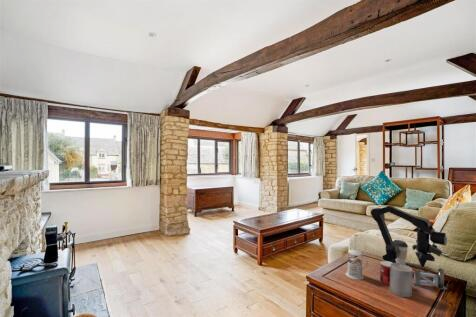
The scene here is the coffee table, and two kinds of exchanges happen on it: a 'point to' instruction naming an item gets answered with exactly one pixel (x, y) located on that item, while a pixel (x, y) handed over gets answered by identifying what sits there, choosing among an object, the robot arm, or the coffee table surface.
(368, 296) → the coffee table surface
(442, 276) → the hinge post
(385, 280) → the canned food
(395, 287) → the pillar candle
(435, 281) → the gate
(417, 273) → the latch stile
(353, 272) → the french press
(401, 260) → the coffee cup
